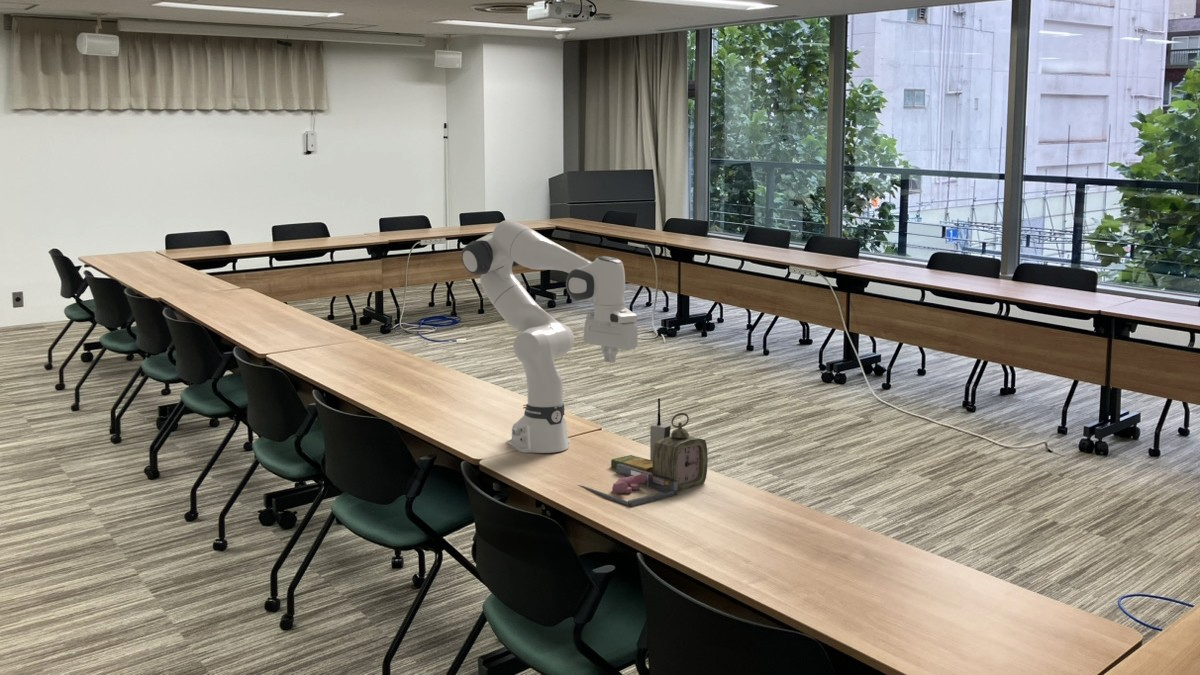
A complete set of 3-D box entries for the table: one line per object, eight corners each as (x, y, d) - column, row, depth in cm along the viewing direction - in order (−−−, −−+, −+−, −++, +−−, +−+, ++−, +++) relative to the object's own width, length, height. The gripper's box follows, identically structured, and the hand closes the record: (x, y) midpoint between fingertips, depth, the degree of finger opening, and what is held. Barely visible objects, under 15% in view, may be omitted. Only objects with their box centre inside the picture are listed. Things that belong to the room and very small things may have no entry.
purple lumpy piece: (649, 489, 289) (630, 484, 294) (648, 473, 288) (629, 469, 293) (626, 499, 282) (607, 494, 287) (625, 483, 281) (606, 479, 286)
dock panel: (574, 486, 292) (574, 473, 292) (620, 476, 303) (620, 463, 302) (630, 506, 273) (630, 492, 273) (677, 495, 284) (677, 481, 283)
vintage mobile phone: (664, 481, 308) (664, 400, 304) (650, 479, 311) (650, 398, 307) (670, 478, 311) (671, 398, 307) (656, 476, 314) (656, 396, 310)
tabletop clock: (672, 506, 287) (673, 418, 283) (649, 499, 293) (650, 413, 290) (707, 496, 296) (708, 411, 293) (684, 489, 303) (685, 406, 300)
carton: (646, 482, 294) (646, 467, 294) (610, 472, 307) (610, 458, 306) (667, 477, 300) (667, 463, 299) (631, 467, 312) (630, 453, 311)
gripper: (578, 311, 297) (578, 358, 299) (624, 318, 281) (624, 367, 283) (595, 310, 301) (595, 356, 303) (641, 316, 285) (641, 365, 287)
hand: (609, 362), depth 293 cm, fingers closed
